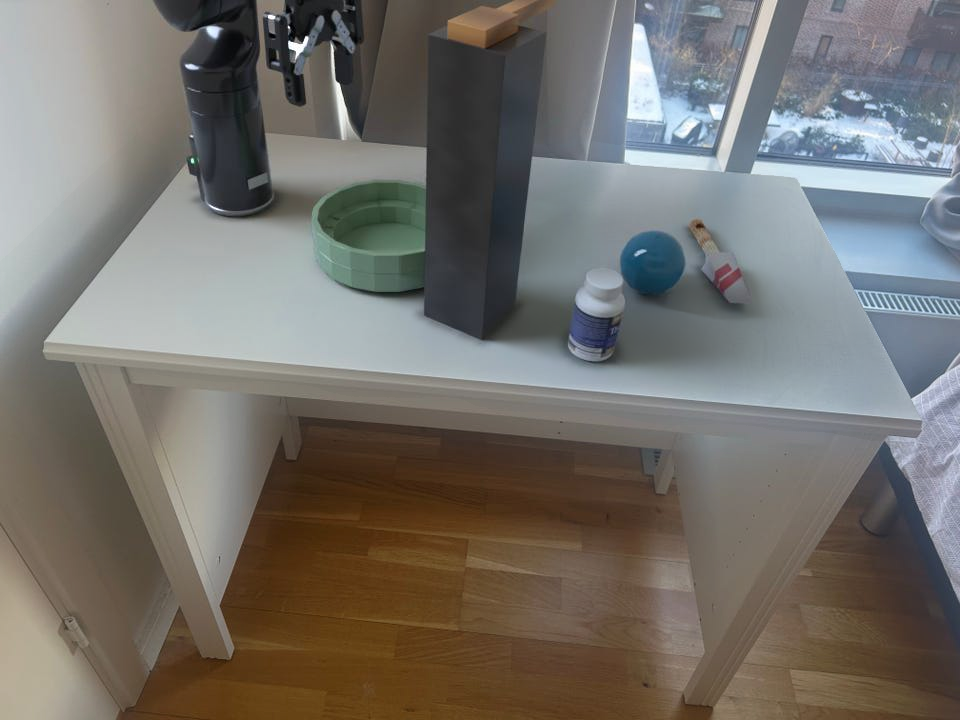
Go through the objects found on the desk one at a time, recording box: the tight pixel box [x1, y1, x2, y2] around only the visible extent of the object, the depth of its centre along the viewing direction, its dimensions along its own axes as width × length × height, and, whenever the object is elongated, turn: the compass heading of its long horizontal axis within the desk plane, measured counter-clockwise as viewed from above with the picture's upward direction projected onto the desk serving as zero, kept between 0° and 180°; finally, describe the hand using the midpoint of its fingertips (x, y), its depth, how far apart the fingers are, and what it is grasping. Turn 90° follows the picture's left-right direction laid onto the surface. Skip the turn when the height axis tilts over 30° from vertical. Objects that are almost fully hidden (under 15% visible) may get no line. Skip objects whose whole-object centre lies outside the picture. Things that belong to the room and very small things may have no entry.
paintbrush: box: [689, 218, 753, 304], centre depth 99 cm, size 4×3×20 cm
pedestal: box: [423, 24, 547, 341], centre depth 79 cm, size 8×8×32 cm
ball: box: [619, 229, 686, 296], centre depth 92 cm, size 8×8×8 cm
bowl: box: [310, 179, 426, 293], centre depth 95 cm, size 19×19×6 cm
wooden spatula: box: [447, 0, 556, 49], centre depth 70 cm, size 16×4×2 cm, turn 149°
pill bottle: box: [567, 267, 626, 362], centre depth 82 cm, size 5×5×10 cm
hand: (321, 93), depth 89 cm, fingers open, 8 cm apart
